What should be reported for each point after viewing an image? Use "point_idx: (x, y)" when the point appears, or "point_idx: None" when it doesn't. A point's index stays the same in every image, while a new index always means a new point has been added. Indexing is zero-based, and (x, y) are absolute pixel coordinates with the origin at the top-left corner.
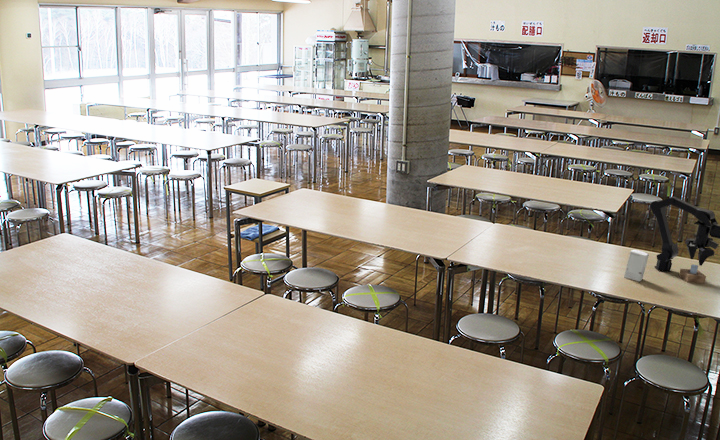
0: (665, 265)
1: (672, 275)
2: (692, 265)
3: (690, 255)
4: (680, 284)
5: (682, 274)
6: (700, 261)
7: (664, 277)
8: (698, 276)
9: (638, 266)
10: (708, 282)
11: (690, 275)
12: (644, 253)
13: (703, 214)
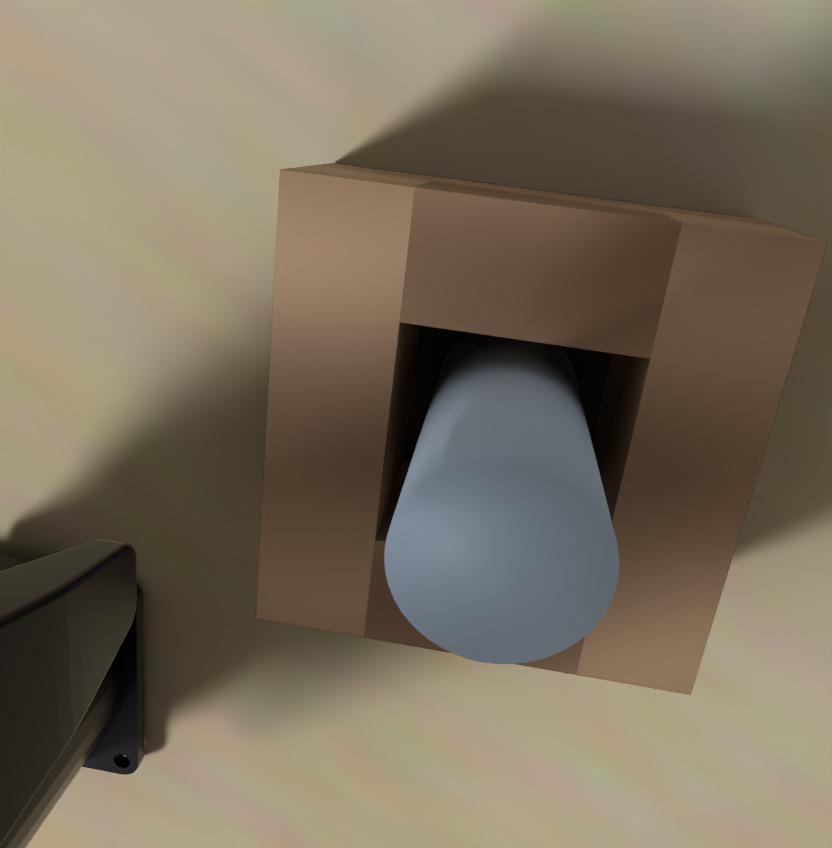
0: (66, 777)
1: (309, 646)
2: (501, 650)
3: (36, 786)
4: (753, 773)
5: None
6: None
7: (420, 834)
8: (754, 454)
9: None
10: (703, 48)
11: (701, 654)
12: None
13: None
